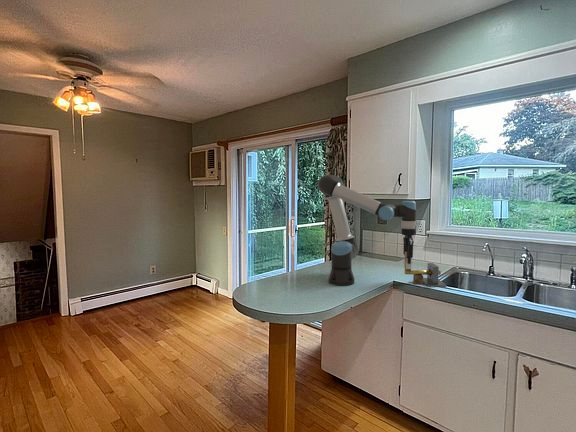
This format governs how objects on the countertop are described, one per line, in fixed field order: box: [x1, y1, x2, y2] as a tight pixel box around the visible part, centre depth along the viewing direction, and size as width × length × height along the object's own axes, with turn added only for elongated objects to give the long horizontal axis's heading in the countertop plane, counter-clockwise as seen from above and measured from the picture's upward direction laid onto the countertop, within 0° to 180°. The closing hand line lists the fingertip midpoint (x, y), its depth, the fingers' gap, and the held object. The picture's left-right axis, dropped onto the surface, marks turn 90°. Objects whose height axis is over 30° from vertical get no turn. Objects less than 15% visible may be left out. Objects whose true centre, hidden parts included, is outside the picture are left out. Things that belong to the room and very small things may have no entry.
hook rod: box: [403, 251, 441, 276], centre depth 182 cm, size 20×3×13 cm, turn 85°
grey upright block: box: [423, 262, 447, 288], centre depth 182 cm, size 10×14×10 cm
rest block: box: [412, 274, 424, 285], centre depth 183 cm, size 4×5×5 cm
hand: (407, 268), depth 183 cm, fingers closed on hook rod, 3 cm apart
